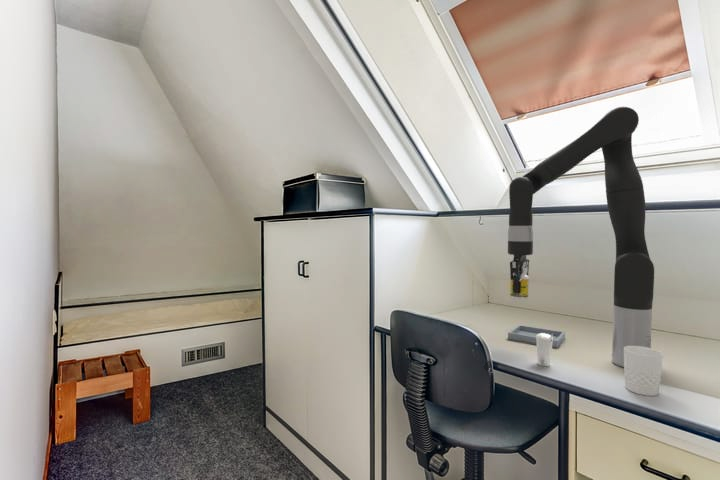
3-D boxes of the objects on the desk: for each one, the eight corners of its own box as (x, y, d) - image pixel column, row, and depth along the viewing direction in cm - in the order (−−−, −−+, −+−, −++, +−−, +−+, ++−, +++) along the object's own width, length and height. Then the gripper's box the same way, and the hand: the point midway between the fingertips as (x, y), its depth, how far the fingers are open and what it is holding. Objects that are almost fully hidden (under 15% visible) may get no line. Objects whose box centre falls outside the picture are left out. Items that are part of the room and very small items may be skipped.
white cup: (666, 399, 91) (668, 357, 91) (627, 394, 94) (628, 353, 94) (655, 386, 98) (656, 347, 98) (618, 381, 101) (620, 344, 101)
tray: (565, 338, 140) (565, 332, 140) (557, 348, 128) (557, 341, 128) (518, 331, 149) (518, 324, 149) (507, 339, 138) (508, 332, 138)
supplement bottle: (509, 298, 125) (509, 268, 124) (511, 295, 129) (511, 266, 129) (527, 300, 122) (528, 269, 122) (528, 297, 127) (529, 267, 127)
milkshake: (544, 369, 110) (545, 334, 110) (531, 362, 115) (532, 329, 115) (558, 367, 111) (559, 333, 111) (544, 361, 117) (545, 328, 116)
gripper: (526, 240, 117) (525, 296, 118) (537, 239, 129) (537, 290, 129) (501, 240, 122) (500, 293, 122) (514, 239, 133) (513, 288, 134)
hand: (519, 291), depth 126 cm, fingers closed on supplement bottle, 5 cm apart
